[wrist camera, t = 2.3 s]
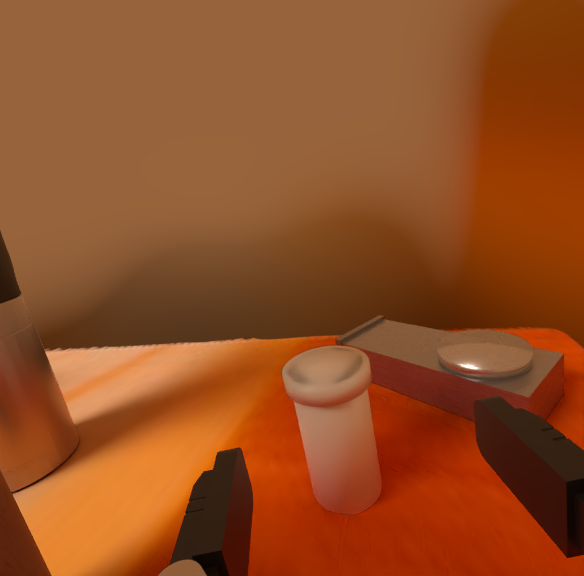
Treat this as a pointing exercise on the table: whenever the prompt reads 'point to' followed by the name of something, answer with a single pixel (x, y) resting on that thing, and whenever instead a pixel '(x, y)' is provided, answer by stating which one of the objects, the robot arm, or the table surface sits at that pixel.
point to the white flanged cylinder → (336, 425)
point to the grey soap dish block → (459, 366)
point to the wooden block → (17, 540)
